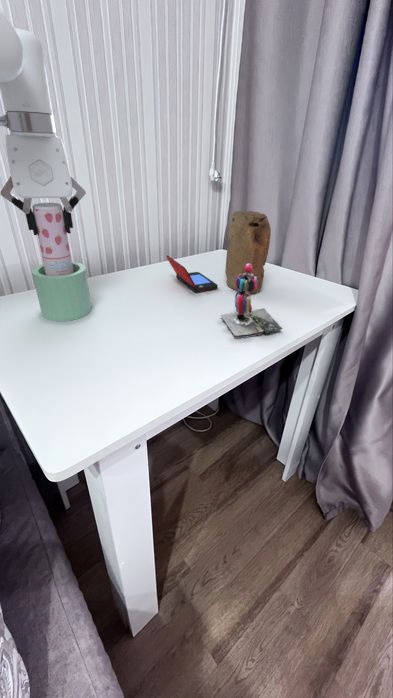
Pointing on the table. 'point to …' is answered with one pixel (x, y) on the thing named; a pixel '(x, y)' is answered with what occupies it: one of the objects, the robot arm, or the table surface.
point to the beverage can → (53, 238)
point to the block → (247, 246)
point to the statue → (248, 310)
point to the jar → (63, 293)
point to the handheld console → (192, 278)
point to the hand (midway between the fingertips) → (52, 231)
